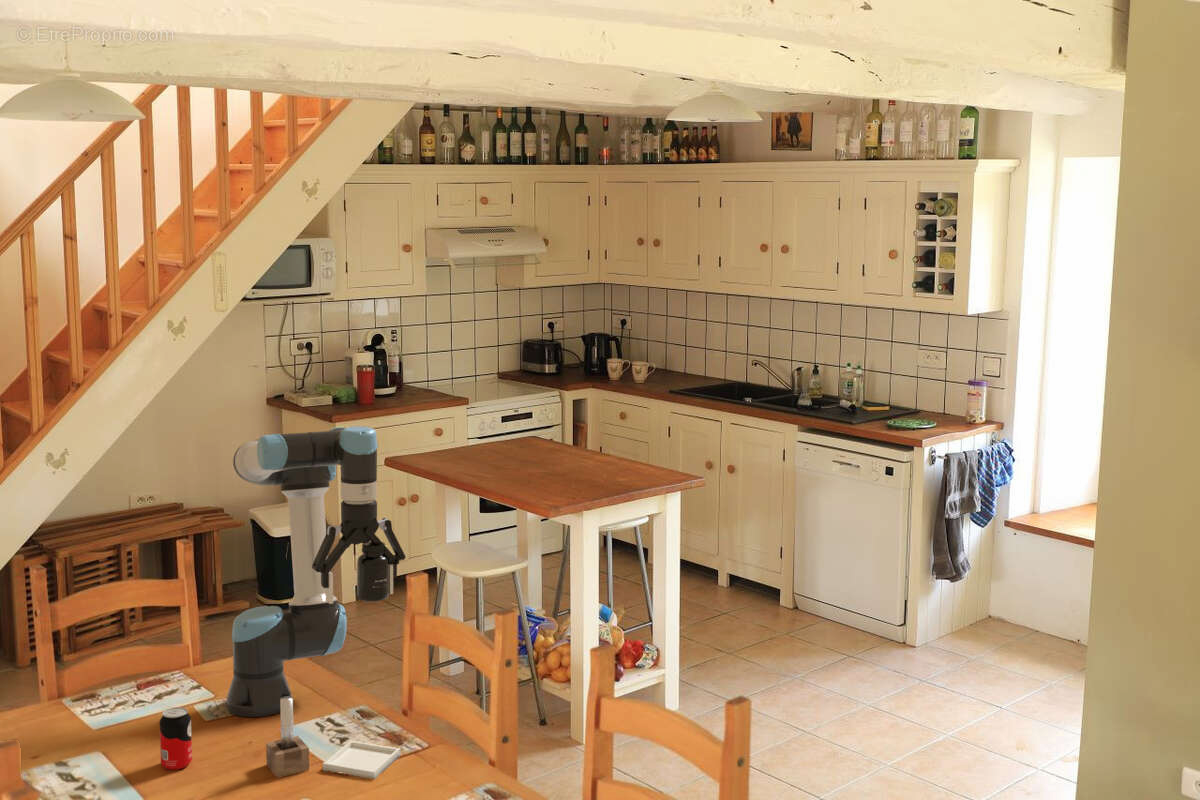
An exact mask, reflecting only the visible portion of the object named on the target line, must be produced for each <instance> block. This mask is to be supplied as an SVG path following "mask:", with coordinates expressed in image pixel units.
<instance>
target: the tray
mask: <svg viewBox="0 0 1200 800" xmlns="http://www.w3.org/2000/svg"><path fill="white" fill-rule="evenodd" d="M400 756H401V748H398V747H394V746H385V745H382V744H381V745H379V744H374V743H368V742H364V741H363V742H362V741H355V740H350V741H348V742H347V743H346V744H345V745H343V746H342V747H341V748H340V749H338V750H337V752H335V753H334V754H332V755H331V756H330V757H328V759H326V761H324V762H323V763H322V771H324V772H328V771H331V772H330V773H334V772H342V773H346V774H351V775H350V776H352V775H354V776H353V777H358V776H359V778H363V777H365V779H369V778H371V780H376V778H378V777H379V776H380V775H381V774H382V773H383V772H384V771H385V770H386V769H388V768H389V767H390V766H391V765H392V764H393V763H394V762H395V761H396V760H397V759H398V758H400ZM346 774H345V775H346ZM379 774H380V775H379ZM378 775H379V776H378Z"/></svg>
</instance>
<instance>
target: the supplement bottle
mask: <svg viewBox="0 0 1200 800" xmlns="http://www.w3.org/2000/svg"><path fill="white" fill-rule="evenodd" d="M381 542H382V543H383V544H374V543H373V542H371V541H369V542H368V543H361V544H362V545H361V553H362V554H361V555H359V557H358V558H357V560H356V561H357V563H356V567H357V568H356V570H357V571H356V576H357V577H356V596H357V598H358V599H359V600H361V601H364V602H381V601H384V600H386V599H388V597H389V595H390V594H389V558H388V557H387V556H386V555H385V554H384V552H385V546H386V544H385V542H384V541H381Z"/></svg>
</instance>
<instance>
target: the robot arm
mask: <svg viewBox="0 0 1200 800" xmlns="http://www.w3.org/2000/svg"><path fill="white" fill-rule="evenodd" d="M377 440H378V439H377V431H376V430H375V428H372V427H370V426H369V427H367V426H358V425H357V426H348V427H341V426H339V427H333V428H330V429H329V430H321V431H310V432H293V433H291V432H290V433H271V434H266V435H262V436H260V437H259V438H258V439H254V440H249V441H247V442H244V443H243V444H242V445H240V446H239V447H238V448H237V449H236V451H235V452H234V454H233V458H232V466H233V469H234V471H235V473H236V474H237V476H239V478H241V479H242V480H243V481H245V482H248V483H251V484H254V485H258V486H280V490H281V491H280V492H281V493H282V494H283V495H284V496H285V497H286V498H287V501H288V502H287V503H288V517H289V518H288V519H289V528H290V529H289V532H290V544H291V545H290V547H291V562H292V576H293V591H294V592H293V593H294V595H293V597H292V599H291V600H290V601H289V602H288V611H283V609H282V608H281V607H280V606H277V605H270V606H268V605H262V606H257V607H253V608H250V609H247V610H245V611H243V612H241V613H240V614H238V615H237V616H236V617H235V618H234V620H233V622H232V632H231V633H232V634H231V640H232V657H233V658H232V661H233V662H232V664H233V665H232V666H233V669H232V670H233V677H232V681H231V684H230V686H229V689H228V692H227V695H226V709H227V710H226V711H228V712H229V713H230V714H232V715H235V716H238V717H244V718H256V717H257V718H258V717H259V718H260V717H267V716H271V715H272V716H273V715H275V714H276V715H277V714H279V713H281V708H280V699H281V698H282V697H285V696H290V697H292V691H291V689H290V686H289V683H288V679H287V678H286V675H285V671H284V662H285V661H293V660H299V659H304V658H311V657H312V658H313V657H317V656H320V657H324V656H325V655H326V656H327V655H329V654H331V655H332V654H335V653H337V652H339V651H340V650H342V648H343V646H344V644H345V639H346V635H347V626H348V625H347V624H348V622H347V621H348V620H347V615H346V613H347V612H346V609H345V607H344V606H343V604H341V603H338V598H337V597H336V596H335V595H334V573H333V572H331V570H332V569H333V568H334V567H335V565H336V564H337V562H338V561H339V559H341V556H343V554H344V552H346V550H347V549H349V547H350V546H351V545H354V546H355V545H359V544H362V543H368V542H369V541H371V542H373V543H374V544H383V543H382V542H383V541H382V540H381V539H380V538H379V537H378V536H377V535H376V533H377V531H378V529H379V528H380V529H381V530H382V531H383V533H384V536H385V537H386V539H387V542H388V543H389V545H390V547H391V549H392V551H393V552H394V554H393V553H392V552H391V551H390V549H389V548H388V547H387V546H386V545H385V552H384V554H385V555H386V556H387V557H388V558H389V595H394V578H395V579H396V578H397V576H398V565H399V564H400V561H403V560H406V555H405V553H404V551H403V548H402V547H401V545H400V543H399V540H398V538H397V537H396V535H395V533H394V531H393V525H392V521H391V520H390V519H388V518H386V517H383V518H382V519H381V520H378V501H376V499H377V498H378V479H377V478H378V474H377V473H378V446H379V444H378V441H377ZM337 466H340V499H341V500H342V501H341V502H340V517H341V518H340V519H341V520H340V521H341V522H340V525H332V524H327V523H326V512H325V511H326V510H325V508H326V507H325V494H326V492H328V491H329V489H330V482H332V481H334V480H335V479H336V476H337V472H336V471H337ZM326 524H327V525H326ZM339 533H341V537H340V538H339V540H338V541H337V544H336V545H335V546H334V548H333V549H332V547H333V545H334V544H333V543H334V542H335V540H336V537H338V534H339ZM331 549H332V551H331V552H330V550H331Z"/></svg>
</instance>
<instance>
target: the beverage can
mask: <svg viewBox="0 0 1200 800" xmlns="http://www.w3.org/2000/svg"><path fill="white" fill-rule="evenodd" d="M159 742H160V743H159V747H160V749H159V750H160V764H161V766H162V767H163V768H165V769H167V770H169V771H177V770H182V769H185V768H186V767H188V766H189V764H190V763H191V762H192V760H193V748H192V747H193V745H192V719H191V715H190V714H189V713H188V709H187V708H186V707H182V706H181V707H180V706H178V707H177V706H176V707H170V708H167V709H165V710H163V711H162V715H161V717H160V719H159Z"/></svg>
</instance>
